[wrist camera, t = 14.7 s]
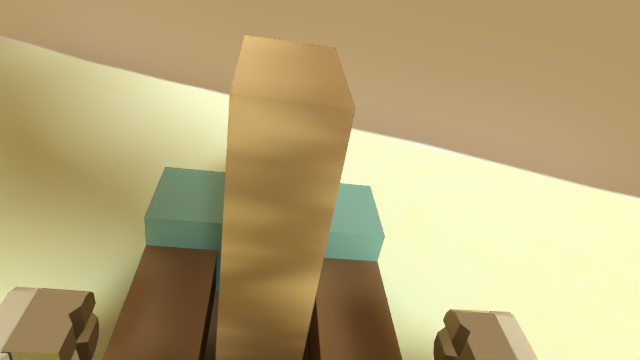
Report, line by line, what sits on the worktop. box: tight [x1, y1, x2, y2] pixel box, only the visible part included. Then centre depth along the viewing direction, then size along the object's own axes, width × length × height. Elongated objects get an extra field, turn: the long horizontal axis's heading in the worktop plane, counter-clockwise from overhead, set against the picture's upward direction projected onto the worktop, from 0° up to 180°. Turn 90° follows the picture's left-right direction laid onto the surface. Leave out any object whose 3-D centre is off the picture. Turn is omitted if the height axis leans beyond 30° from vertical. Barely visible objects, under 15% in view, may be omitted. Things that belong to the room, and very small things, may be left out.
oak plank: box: [215, 35, 355, 360], centre depth 16 cm, size 3×5×12 cm, turn 4°
